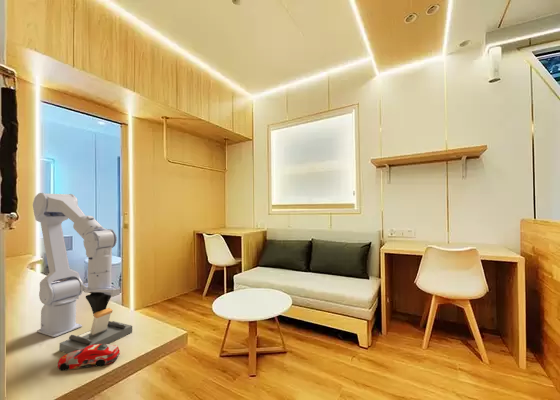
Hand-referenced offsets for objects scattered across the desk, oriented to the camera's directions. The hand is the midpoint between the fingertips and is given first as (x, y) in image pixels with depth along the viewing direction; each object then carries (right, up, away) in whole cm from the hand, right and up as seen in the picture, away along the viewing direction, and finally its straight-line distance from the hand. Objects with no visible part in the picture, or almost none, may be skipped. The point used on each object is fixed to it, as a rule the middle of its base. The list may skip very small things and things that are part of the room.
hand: (99, 317), depth 77 cm
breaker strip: (0, -7, 0) cm, 7 cm away
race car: (+5, -7, -11) cm, 14 cm away
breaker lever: (0, -4, 0) cm, 4 cm away
